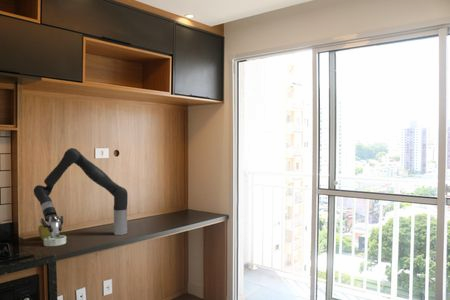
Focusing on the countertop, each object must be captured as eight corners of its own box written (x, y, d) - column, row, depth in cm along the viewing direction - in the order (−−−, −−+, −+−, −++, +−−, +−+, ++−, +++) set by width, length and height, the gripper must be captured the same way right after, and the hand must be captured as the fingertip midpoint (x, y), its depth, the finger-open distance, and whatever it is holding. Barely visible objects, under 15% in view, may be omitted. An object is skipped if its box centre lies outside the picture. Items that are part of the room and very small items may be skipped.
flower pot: (40, 241, 242) (40, 227, 242) (37, 239, 249) (37, 225, 249) (54, 239, 247) (54, 226, 247) (51, 237, 254) (51, 224, 254)
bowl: (47, 242, 239) (47, 235, 239) (68, 240, 242) (68, 234, 242) (41, 246, 226) (41, 240, 226) (63, 245, 229) (63, 239, 229)
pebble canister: (51, 236, 236) (51, 220, 236) (60, 236, 237) (60, 220, 237) (49, 238, 231) (49, 222, 231) (58, 237, 232) (58, 221, 232)
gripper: (38, 207, 234) (45, 229, 226) (61, 205, 245) (69, 225, 236) (35, 215, 238) (42, 236, 229) (58, 212, 248) (65, 232, 240)
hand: (56, 230), depth 233 cm, fingers closed on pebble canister, 5 cm apart
